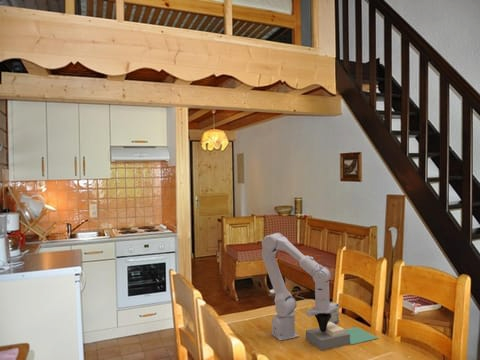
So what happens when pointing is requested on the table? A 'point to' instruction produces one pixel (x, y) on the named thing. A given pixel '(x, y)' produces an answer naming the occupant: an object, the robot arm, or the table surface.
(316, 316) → the robot arm
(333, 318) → the medicine box
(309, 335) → the block
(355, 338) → the mat
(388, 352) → the table surface
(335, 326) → the white flat block
